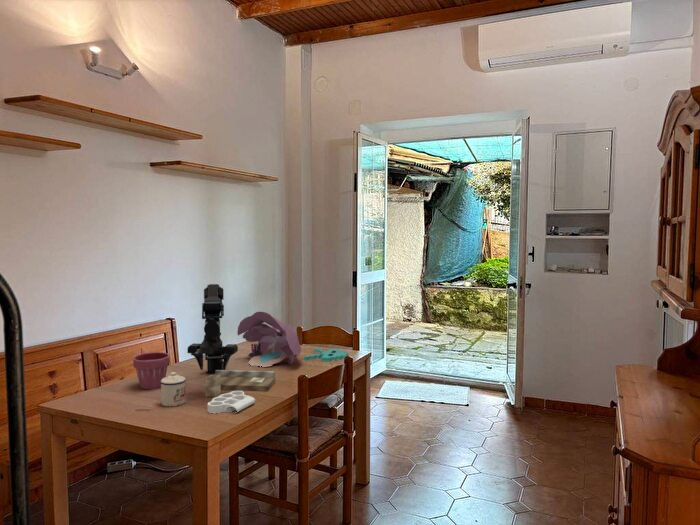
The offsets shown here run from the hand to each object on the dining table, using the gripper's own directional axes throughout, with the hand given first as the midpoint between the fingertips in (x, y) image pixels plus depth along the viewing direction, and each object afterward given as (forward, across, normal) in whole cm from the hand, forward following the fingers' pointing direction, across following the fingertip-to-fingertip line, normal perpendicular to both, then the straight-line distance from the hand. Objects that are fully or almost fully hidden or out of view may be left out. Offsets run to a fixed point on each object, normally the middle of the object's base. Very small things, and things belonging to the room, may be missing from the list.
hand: (213, 370), depth 197 cm
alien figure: (+11, +39, +65) cm, 76 cm away
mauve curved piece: (+10, +11, +50) cm, 52 cm away
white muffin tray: (+10, +11, -13) cm, 20 cm away
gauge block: (+10, 0, 0) cm, 10 cm away
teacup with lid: (+10, -11, -10) cm, 18 cm away
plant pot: (+10, -29, +8) cm, 32 cm away
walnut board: (+10, +8, +12) cm, 17 cm away
